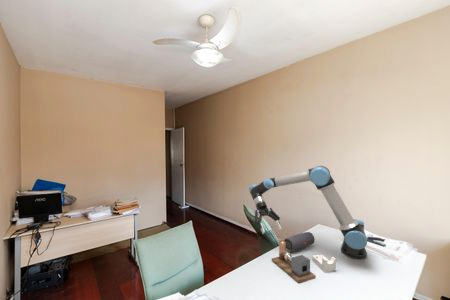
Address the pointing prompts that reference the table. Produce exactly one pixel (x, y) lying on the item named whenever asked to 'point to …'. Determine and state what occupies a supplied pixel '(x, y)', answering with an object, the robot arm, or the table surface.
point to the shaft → (284, 251)
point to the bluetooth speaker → (299, 241)
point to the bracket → (324, 263)
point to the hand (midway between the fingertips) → (272, 231)
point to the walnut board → (287, 268)
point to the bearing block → (300, 266)
